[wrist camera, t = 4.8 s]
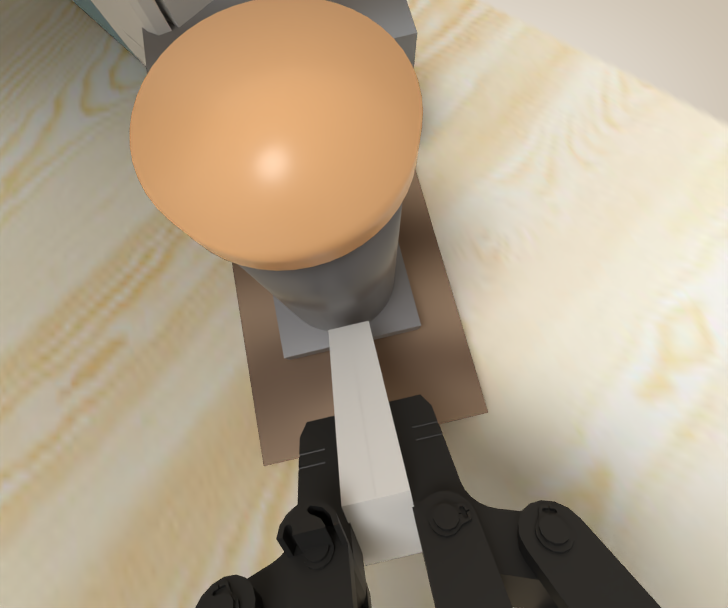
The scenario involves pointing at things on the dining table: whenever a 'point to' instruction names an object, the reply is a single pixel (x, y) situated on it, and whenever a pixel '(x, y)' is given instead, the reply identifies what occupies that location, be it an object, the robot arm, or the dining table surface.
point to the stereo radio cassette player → (139, 18)
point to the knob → (289, 159)
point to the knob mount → (395, 353)
